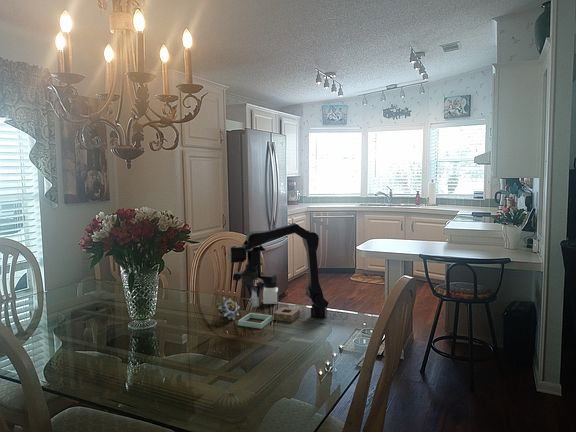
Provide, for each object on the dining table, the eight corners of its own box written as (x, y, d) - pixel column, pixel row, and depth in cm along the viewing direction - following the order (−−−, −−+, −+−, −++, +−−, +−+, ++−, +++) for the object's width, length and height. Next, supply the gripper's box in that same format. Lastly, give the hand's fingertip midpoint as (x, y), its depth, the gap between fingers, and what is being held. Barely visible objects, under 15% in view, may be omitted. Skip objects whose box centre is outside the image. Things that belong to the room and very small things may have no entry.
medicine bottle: (277, 305, 219) (277, 281, 218) (263, 305, 219) (262, 282, 218) (278, 301, 226) (277, 278, 225) (264, 301, 226) (263, 278, 225)
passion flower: (233, 331, 200) (227, 316, 192) (213, 324, 204) (207, 308, 196) (246, 312, 207) (241, 296, 199) (226, 305, 211) (221, 289, 203)
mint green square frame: (272, 322, 196) (272, 315, 195) (261, 330, 186) (261, 323, 185) (250, 319, 200) (250, 312, 200) (238, 327, 190) (238, 320, 190)
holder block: (299, 317, 201) (299, 309, 201) (292, 324, 193) (292, 315, 192) (281, 315, 205) (281, 306, 204) (273, 321, 196) (273, 312, 196)
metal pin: (259, 305, 193) (259, 285, 192) (256, 307, 190) (256, 286, 189) (253, 304, 194) (253, 284, 193) (250, 306, 191) (250, 286, 190)
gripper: (225, 263, 186) (226, 299, 188) (265, 267, 179) (266, 304, 180) (238, 258, 196) (239, 292, 198) (277, 261, 189) (277, 297, 191)
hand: (255, 296), depth 191 cm, fingers closed on metal pin, 3 cm apart
